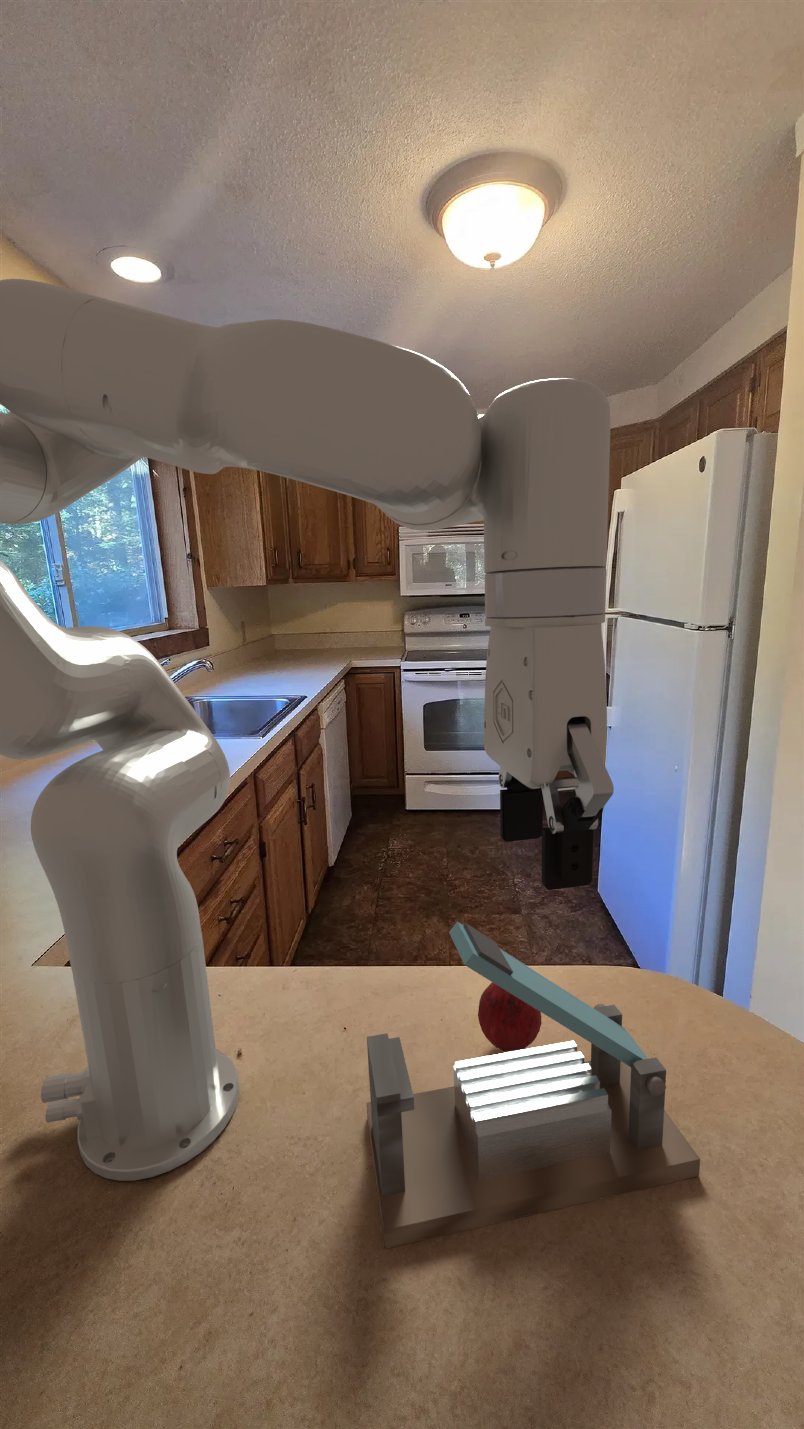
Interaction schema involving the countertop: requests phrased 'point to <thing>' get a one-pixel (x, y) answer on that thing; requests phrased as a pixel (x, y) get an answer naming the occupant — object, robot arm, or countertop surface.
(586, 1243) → the countertop surface
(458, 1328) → the countertop surface
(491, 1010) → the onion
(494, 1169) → the heat sink
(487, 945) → the bar
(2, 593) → the robot arm
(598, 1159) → the clip base
